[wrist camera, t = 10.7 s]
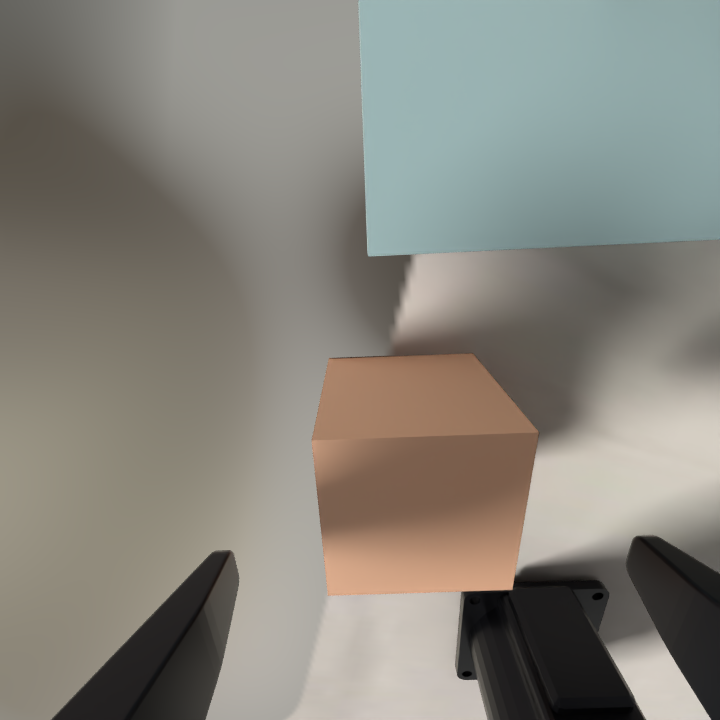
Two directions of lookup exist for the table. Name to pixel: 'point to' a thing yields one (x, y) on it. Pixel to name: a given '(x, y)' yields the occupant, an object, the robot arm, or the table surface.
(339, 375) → the terracotta cube
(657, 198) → the board
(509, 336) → the table surface
